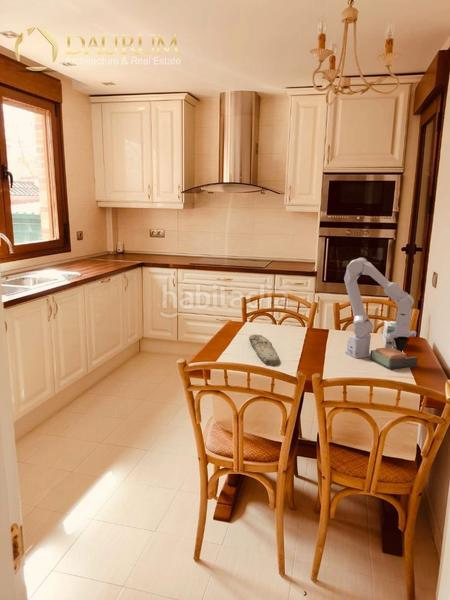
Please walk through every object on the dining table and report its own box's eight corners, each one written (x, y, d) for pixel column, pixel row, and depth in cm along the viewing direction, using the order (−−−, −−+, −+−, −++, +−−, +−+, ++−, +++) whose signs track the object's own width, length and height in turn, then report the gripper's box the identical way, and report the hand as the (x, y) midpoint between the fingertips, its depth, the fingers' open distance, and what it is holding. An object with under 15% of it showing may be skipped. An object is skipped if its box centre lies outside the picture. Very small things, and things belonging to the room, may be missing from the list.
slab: (390, 361, 180) (391, 355, 179) (375, 353, 188) (376, 348, 188) (405, 359, 183) (406, 353, 182) (390, 352, 191) (390, 346, 191)
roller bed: (390, 370, 179) (391, 359, 177) (369, 359, 190) (370, 349, 189) (416, 366, 183) (417, 356, 182) (394, 356, 195) (396, 346, 194)
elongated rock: (260, 369, 180) (283, 369, 181) (261, 357, 178) (284, 358, 180) (245, 338, 213) (264, 339, 214) (246, 328, 211) (265, 329, 213)
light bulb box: (399, 348, 206) (402, 327, 204) (384, 347, 207) (387, 325, 205) (395, 341, 216) (398, 321, 214) (381, 340, 218) (384, 320, 215)
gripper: (396, 326, 178) (392, 357, 181) (423, 324, 183) (419, 354, 186) (384, 322, 184) (380, 352, 187) (410, 319, 189) (407, 348, 192)
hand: (399, 352), depth 187 cm, fingers closed
